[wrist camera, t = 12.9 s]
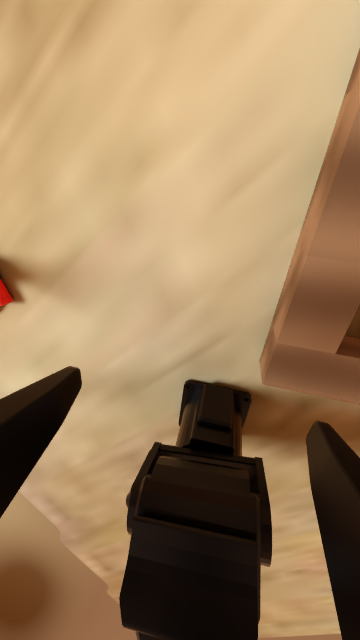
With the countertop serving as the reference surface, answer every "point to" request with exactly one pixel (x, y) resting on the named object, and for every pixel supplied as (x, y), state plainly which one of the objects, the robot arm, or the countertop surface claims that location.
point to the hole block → (324, 276)
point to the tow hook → (4, 294)
